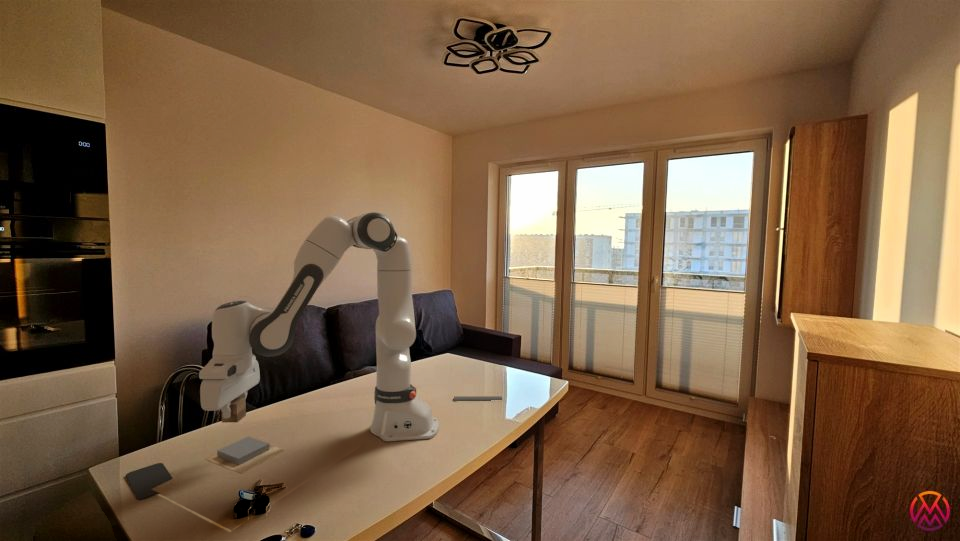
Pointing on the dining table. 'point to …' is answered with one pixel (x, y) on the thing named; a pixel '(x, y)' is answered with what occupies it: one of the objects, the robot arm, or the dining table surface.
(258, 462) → the cork board
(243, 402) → the walnut block
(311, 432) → the dining table surface
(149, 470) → the phone
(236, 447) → the slate tile
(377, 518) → the dining table surface
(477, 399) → the grey toothed bar
